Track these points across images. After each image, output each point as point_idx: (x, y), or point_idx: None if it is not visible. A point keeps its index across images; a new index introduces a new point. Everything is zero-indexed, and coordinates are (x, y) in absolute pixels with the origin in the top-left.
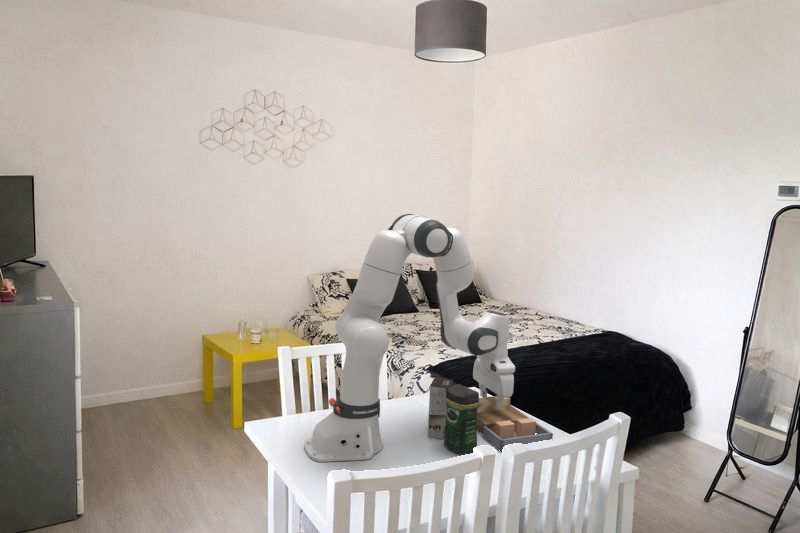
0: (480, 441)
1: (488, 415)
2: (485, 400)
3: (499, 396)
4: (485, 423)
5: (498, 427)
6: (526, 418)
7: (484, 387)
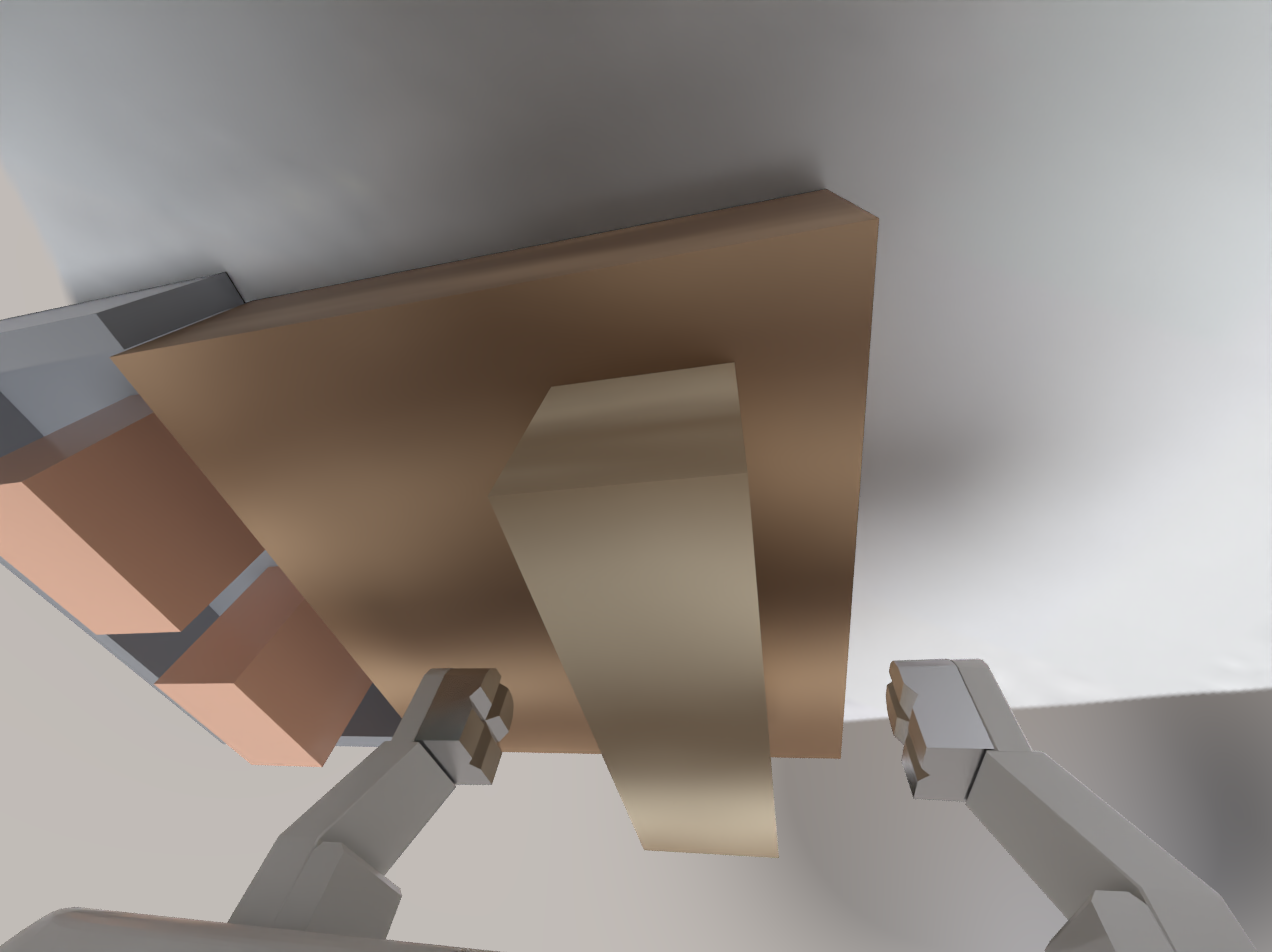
0: (101, 201)
1: (458, 498)
2: (597, 644)
3: (258, 885)
4: (148, 366)
5: (6, 466)
6: (293, 743)
7: (1046, 871)
